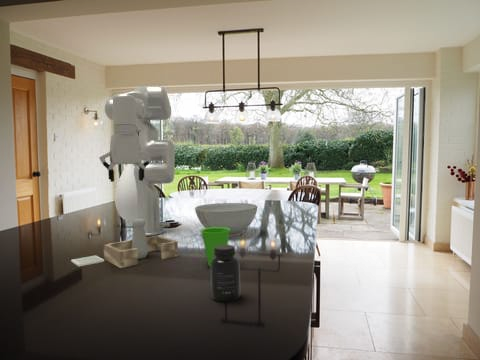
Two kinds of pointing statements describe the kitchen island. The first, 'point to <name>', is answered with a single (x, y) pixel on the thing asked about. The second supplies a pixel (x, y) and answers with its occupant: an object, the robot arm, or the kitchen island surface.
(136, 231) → the salt shaker
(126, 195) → the lamp
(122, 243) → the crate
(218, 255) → the supplement bottle
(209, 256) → the cup
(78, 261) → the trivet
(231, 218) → the decorative bowl
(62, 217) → the kitchen island surface
